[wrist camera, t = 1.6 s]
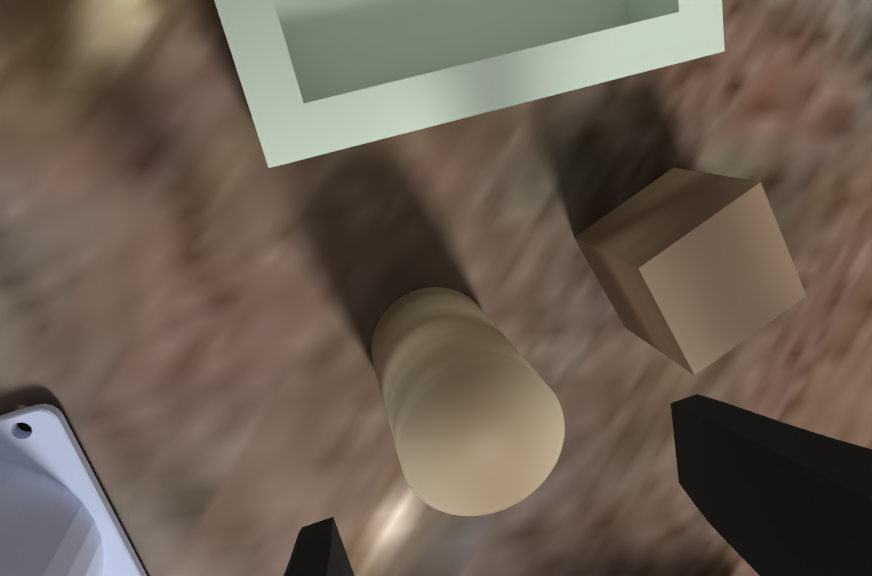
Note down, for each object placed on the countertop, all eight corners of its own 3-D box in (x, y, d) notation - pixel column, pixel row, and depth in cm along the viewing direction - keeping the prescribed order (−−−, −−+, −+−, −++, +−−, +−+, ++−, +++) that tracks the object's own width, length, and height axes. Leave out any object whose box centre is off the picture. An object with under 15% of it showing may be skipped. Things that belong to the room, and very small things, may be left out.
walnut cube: (624, 326, 21) (694, 374, 17) (573, 237, 19) (638, 268, 16) (715, 261, 21) (806, 295, 17) (671, 167, 19) (760, 182, 16)
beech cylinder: (388, 415, 20) (422, 538, 14) (356, 307, 18) (379, 396, 13) (500, 379, 20) (575, 484, 15) (477, 271, 19) (550, 342, 13)
